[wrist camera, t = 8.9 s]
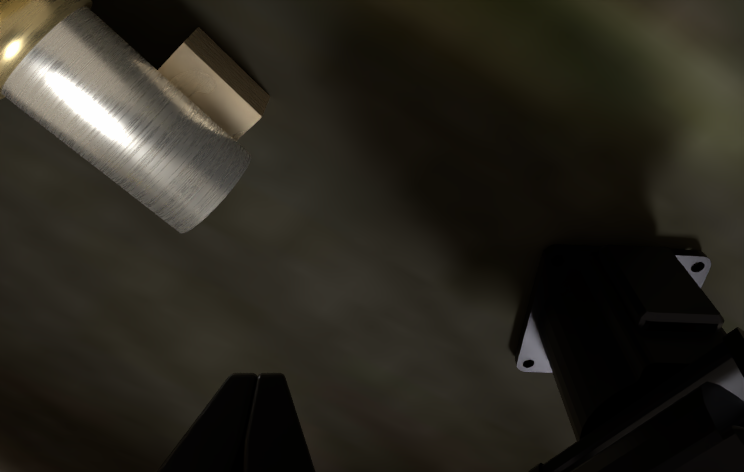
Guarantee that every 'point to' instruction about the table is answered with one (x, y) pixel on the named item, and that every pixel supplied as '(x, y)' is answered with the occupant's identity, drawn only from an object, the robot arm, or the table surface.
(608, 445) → the robot arm
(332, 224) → the table surface
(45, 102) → the valve assembly
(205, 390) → the table surface
